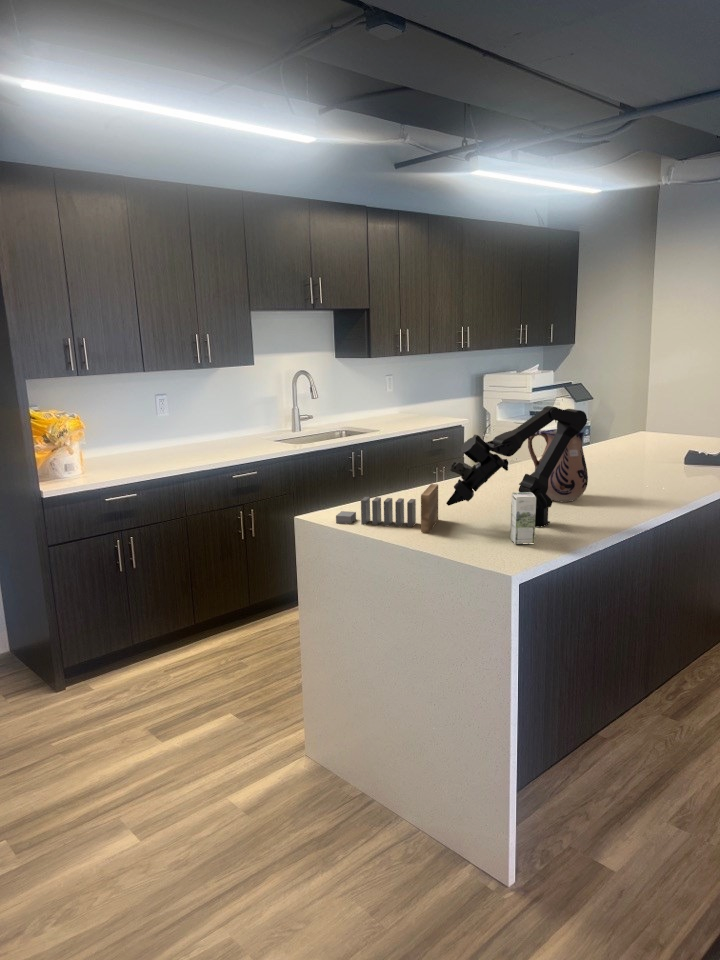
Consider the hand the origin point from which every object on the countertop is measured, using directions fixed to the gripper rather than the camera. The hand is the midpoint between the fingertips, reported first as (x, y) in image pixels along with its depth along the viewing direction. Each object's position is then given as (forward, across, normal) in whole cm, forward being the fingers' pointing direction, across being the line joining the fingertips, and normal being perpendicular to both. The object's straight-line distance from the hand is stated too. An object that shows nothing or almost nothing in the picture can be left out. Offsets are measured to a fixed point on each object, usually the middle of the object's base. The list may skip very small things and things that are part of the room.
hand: (448, 503), depth 218 cm
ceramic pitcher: (-17, -44, +28) cm, 55 cm away
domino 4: (+17, 0, -6) cm, 17 cm away
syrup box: (-11, +11, +22) cm, 27 cm away
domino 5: (+14, 0, -3) cm, 14 cm away
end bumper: (+30, 0, -18) cm, 35 cm away
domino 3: (+19, 0, -8) cm, 21 cm away
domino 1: (+25, 0, -14) cm, 28 cm away
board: (+10, 0, +2) cm, 10 cm away
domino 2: (+22, 0, -11) cm, 25 cm away
